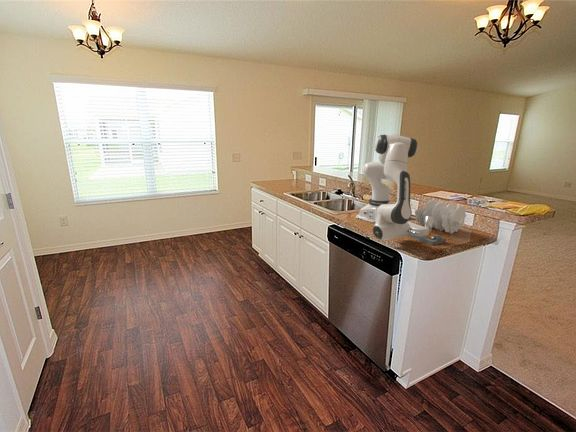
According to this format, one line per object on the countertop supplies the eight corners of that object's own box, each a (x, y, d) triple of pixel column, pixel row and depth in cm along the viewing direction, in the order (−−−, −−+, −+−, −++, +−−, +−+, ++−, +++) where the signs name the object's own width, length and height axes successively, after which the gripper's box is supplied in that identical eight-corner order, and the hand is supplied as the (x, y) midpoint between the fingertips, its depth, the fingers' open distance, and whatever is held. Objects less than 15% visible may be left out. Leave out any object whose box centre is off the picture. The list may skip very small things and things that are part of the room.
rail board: (397, 231, 175) (397, 228, 175) (409, 229, 179) (410, 226, 179) (432, 245, 153) (432, 241, 153) (445, 242, 157) (446, 239, 157)
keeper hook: (431, 238, 157) (432, 235, 157) (435, 237, 158) (436, 234, 158) (437, 240, 154) (437, 237, 154) (441, 239, 155) (441, 236, 155)
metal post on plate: (416, 233, 165) (418, 214, 162) (423, 232, 167) (425, 213, 164) (432, 239, 156) (435, 219, 153) (439, 237, 158) (442, 218, 155)
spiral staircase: (425, 229, 192) (463, 238, 171) (409, 221, 183) (447, 230, 162) (434, 203, 192) (474, 209, 171) (419, 194, 183) (459, 199, 162)
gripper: (417, 228, 142) (438, 224, 147) (387, 218, 160) (407, 215, 166) (416, 240, 144) (436, 236, 149) (386, 229, 162) (405, 226, 167)
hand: (420, 225), depth 157 cm, fingers open, 8 cm apart
